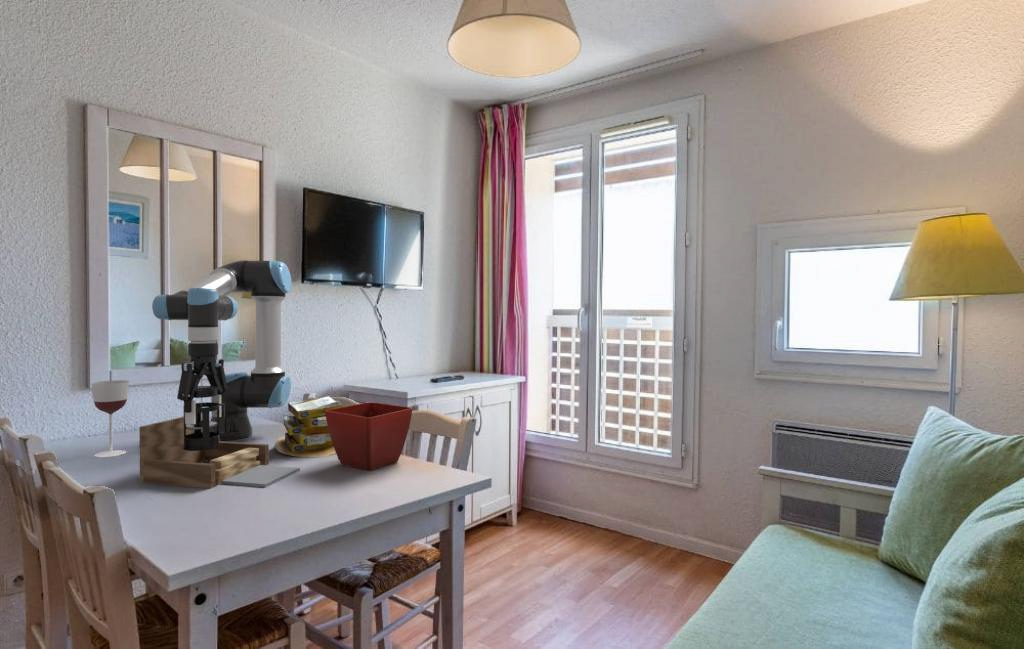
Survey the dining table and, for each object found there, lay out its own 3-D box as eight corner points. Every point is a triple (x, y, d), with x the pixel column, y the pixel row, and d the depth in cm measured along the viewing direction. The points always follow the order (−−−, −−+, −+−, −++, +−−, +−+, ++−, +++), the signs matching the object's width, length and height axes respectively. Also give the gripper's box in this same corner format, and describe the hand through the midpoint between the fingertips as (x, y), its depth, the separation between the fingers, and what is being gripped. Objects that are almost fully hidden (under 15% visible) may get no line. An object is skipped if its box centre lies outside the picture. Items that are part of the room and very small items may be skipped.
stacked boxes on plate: (357, 453, 184) (357, 402, 184) (275, 460, 174) (275, 406, 174) (346, 437, 207) (346, 392, 206) (273, 443, 197) (273, 395, 196)
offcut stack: (246, 466, 168) (246, 446, 167) (261, 467, 167) (261, 447, 167) (203, 485, 150) (203, 462, 150) (219, 486, 149) (219, 463, 149)
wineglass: (84, 455, 177) (84, 383, 176) (117, 448, 186) (117, 379, 186) (103, 458, 173) (103, 384, 173) (136, 451, 183) (135, 381, 182)
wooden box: (205, 459, 174) (205, 411, 174) (268, 464, 170) (268, 414, 169) (139, 482, 151) (139, 426, 150) (211, 488, 146) (211, 431, 146)
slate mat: (260, 467, 166) (260, 464, 166) (299, 470, 163) (299, 467, 163) (221, 483, 150) (221, 480, 150) (265, 487, 147) (265, 484, 147)
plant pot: (368, 476, 159) (368, 416, 158) (323, 465, 169) (323, 410, 168) (413, 461, 175) (414, 407, 174) (370, 452, 185) (370, 401, 185)
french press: (184, 453, 153) (184, 369, 152) (176, 446, 160) (175, 366, 159) (230, 446, 161) (230, 366, 160) (221, 440, 168) (220, 363, 167)
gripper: (219, 339, 171) (219, 412, 172) (160, 344, 150) (161, 427, 150) (240, 340, 170) (241, 413, 170) (184, 345, 148) (185, 429, 149)
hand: (203, 420), depth 160 cm, fingers closed on french press, 9 cm apart
